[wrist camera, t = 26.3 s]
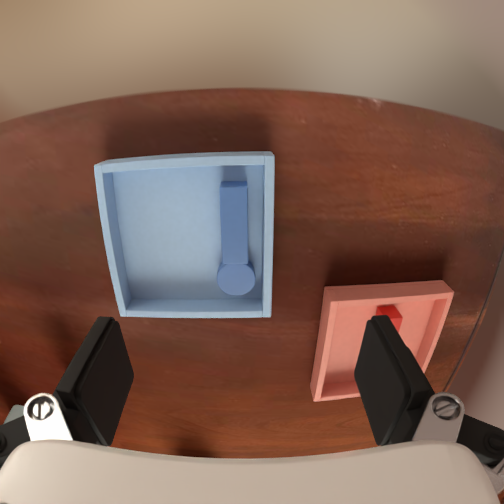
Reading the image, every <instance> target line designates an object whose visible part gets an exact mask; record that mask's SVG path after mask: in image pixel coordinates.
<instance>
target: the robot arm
mask: <svg viewBox="0 0 504 504" xmlns="http://www.w3.org/2000/svg"><path fill="white" fill-rule="evenodd" d="M133 378H134V373H133V369H132V366H131V363H130V360H129V356H128V353H127V350H126V346H125V343H124V340H123V336H122V332H121V329H120V325H119V323H118V322H117V321H115V319H114V318H113V317H101V316H100V317H98V318H97V320H96V321H95V323H94V324H93V326H92V328H91V329H90V331H89V333H88V334H87V336H86V338H85V339H84V341H83V343H82V344H81V346H80V348H79V349H78V351H77V352H76V354H75V355H74V357H73V359H72V361H71V362H70V364H69V366H68V368H67V369H66V371H65V373H64V375H63V376H62V378H61V380H60V382H59V384H58V386H57V387H56V389H55V391H54V393H53V395H51V394H48V393H40V394H36V395H34V396H32V397H31V398H30V399H29V400H28V401H27V402H26V404H25V406H24V415H23V416H21V417H19V418H16V419H14V420H12V421H9V422H7V423H5V424H2V425H0V504H504V431H503V430H502V429H500V428H497V427H495V426H492V425H490V424H487V423H485V422H482V421H479V420H477V419H475V418H472V417H470V416H468V415H465V414H464V405H463V403H462V402H461V400H460V399H459V398H458V397H457V396H455V395H453V394H451V393H447V392H439V393H436V394H435V393H434V391H433V389H432V387H431V385H430V384H429V382H428V380H427V378H426V376H425V375H424V373H423V371H422V369H421V367H420V366H419V364H418V362H417V360H416V359H415V357H414V355H413V353H412V352H411V350H410V349H409V347H407V346H406V345H405V343H404V341H403V340H402V338H401V336H400V335H399V333H398V331H397V330H396V328H395V326H394V325H393V323H392V321H391V320H390V318H389V316H388V315H376V316H372V318H371V320H368V321H367V323H366V327H365V331H364V335H363V340H362V344H361V348H360V351H359V355H358V359H357V363H356V366H355V370H354V378H355V381H356V384H357V387H358V390H359V393H360V396H361V399H362V402H363V404H364V407H365V410H366V413H367V416H368V419H369V423H370V426H371V429H372V432H373V435H374V438H375V441H376V444H377V445H378V446H379V445H381V446H380V447H374V448H368V449H361V450H354V451H347V452H339V453H331V454H322V455H312V456H300V457H285V458H260V459H226V458H201V457H186V456H174V455H163V454H155V453H147V452H139V451H133V450H126V449H119V448H113V447H107V446H110V445H111V444H112V442H113V438H114V435H115V432H116V429H117V426H118V423H119V420H120V417H121V414H122V411H123V408H124V405H125V402H126V399H127V396H128V393H129V390H130V388H131V385H132V382H133Z"/></svg>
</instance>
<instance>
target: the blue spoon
mask: <svg viewBox="0 0 504 504" xmlns="http://www.w3.org/2000/svg"><path fill="white" fill-rule="evenodd" d="M219 196H220V223H221V247H222V263H221V264H220V265H219V267H218V271H217V284H218V286H219V288H220V289H221V290H222V291H223V292H224V293H226V294H228V295H232V296H241V295H244V294H246V293H248V292H249V291H250V290H251V289H252V288H253V287H254V285H255V280H256V278H255V269H254V266H253V265H252V263H251V262H250V261H249V260H248V186H247V181H222V182H221V184H220V187H219Z"/></svg>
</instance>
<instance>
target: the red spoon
mask: <svg viewBox="0 0 504 504" xmlns="http://www.w3.org/2000/svg"><path fill="white" fill-rule="evenodd" d="M376 315H388V316H389V318H390V320H391V321H392V323H393V325H394V326H395V328H396V330H397V331H398V333H399V330H400V326H401V323H402V319H403V317H402V315H401V314H400V312H399V311H398V310H397V308H396V307H395V306H382V307H377V311H376Z"/></svg>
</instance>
